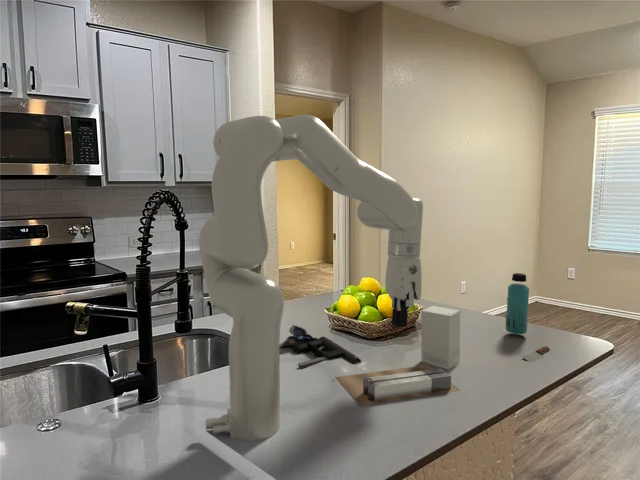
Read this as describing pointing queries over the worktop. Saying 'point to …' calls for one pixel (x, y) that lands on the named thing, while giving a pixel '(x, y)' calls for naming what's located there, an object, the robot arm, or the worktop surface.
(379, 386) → the arm
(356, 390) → the cutting board
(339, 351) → the black submachine gun
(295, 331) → the snack package
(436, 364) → the skincare box
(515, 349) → the worktop surface
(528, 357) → the cleaver
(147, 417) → the worktop surface
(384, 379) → the tongs arm
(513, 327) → the beverage bottle
